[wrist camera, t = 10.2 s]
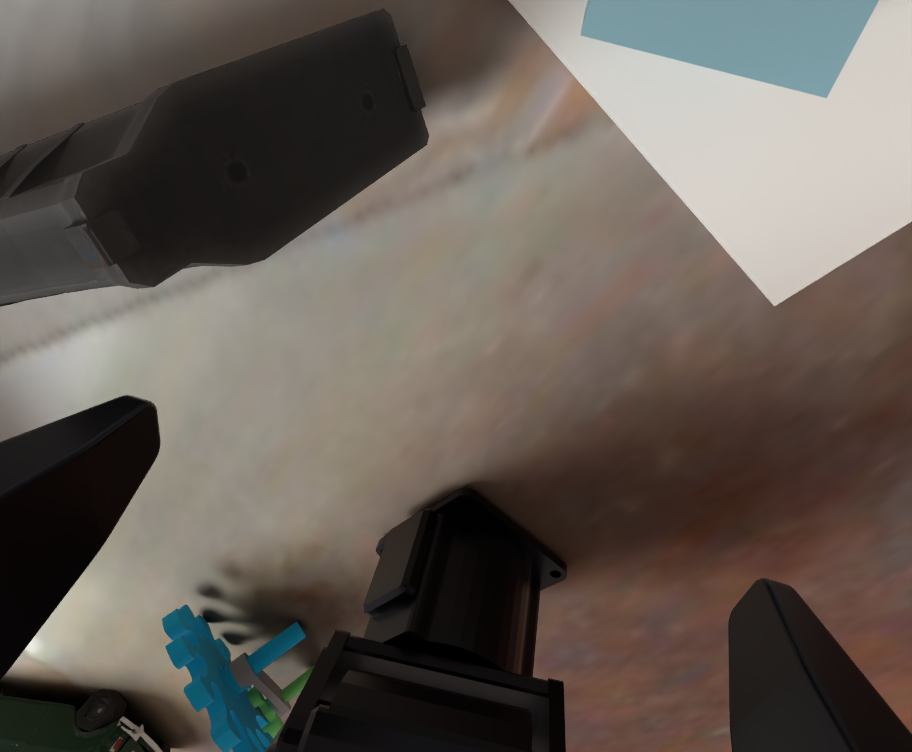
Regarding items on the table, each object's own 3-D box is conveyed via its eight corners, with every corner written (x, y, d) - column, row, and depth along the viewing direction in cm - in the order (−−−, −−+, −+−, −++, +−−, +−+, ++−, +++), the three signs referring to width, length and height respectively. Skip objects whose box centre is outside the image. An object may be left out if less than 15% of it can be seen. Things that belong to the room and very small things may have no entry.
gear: (133, 589, 33) (183, 753, 26) (234, 524, 35) (305, 660, 28) (225, 673, 40) (283, 818, 33) (304, 615, 42) (374, 741, 35)
